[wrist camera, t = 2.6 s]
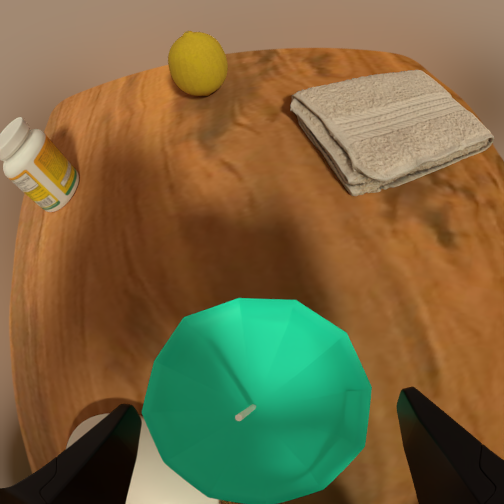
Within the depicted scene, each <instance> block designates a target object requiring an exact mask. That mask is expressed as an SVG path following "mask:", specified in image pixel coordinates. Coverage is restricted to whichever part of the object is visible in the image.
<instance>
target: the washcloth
mask: <svg viewBox="0 0 504 504" xmlns="http://www.w3.org/2000/svg"><path fill="white" fill-rule="evenodd" d="M290 108H291V109H290V111H292V112H294V113H295V114H296V115H297V118H298V121H299V125H300V126H301V128H302V130H303V131H304V132H305V133H306V135H307V136H308V138H309V139H310V140H311V142H312V143H313V144H314V145H315V146H316V147H317V148H318V149H319V151H320V152H321V153H322V154H323V156H324V158H325V159H326V161H327V162H328V164H329V165H330V167H331V168H332V170H333V171H334V172H335V174H336V175H337V177H338V178H339V179H340V181H341V182H342V184H343V185H344V187H345V188H346V190H347V191H348V192H349V193H350V195H352V196H358V195H363V194H364V193H366V192H367V193H375V192H380V191H381V189H382V188H383V189H388V188H389V187H396V186H399V185H401V184H404V183H407V182H409V181H412V180H415V179H417V178H420V177H422V176H424V175H427V174H429V173H431V172H434V171H437V170H439V169H441V168H444V167H446V166H449V165H451V164H453V163H456V162H458V161H460V160H462V159H464V158H467V157H469V156H473V155H475V154H478V153H481V152H483V151H485V150H486V149H488V148H489V147H490V145H491V144H492V143H493V141H494V136H493V135H492V134H491V132H490V131H489V130H488V129H487V128H486V127H485V126H484V125H483V124H482V123H481V122H480V121H479V120H478V118H476V117H475V116H474V115H473V114H472V113H470V112H469V111H467V110H466V109H465V108H464V107H462V106H461V105H460V104H459V103H458V102H457V101H456V100H454V99H453V98H452V97H451V95H450V94H449V93H448V92H447V91H446V90H445V89H444V88H443V87H442V86H441V85H440V84H438V83H437V82H436V81H434V79H432V78H431V77H430V76H429V75H427V74H426V73H424V72H423V71H420V70H414V71H412V70H410V71H409V70H408V71H404V72H402V71H401V72H399V73H394V72H393V73H388V74H387V73H386V74H379V75H377V74H376V75H369V76H367V77H359V78H356V79H355V78H352V79H351V80H346V81H343V82H337V83H333V84H329V85H323V86H318V87H313V88H308V89H307V90H302V91H298V92H297V93H296V94H294V95H292V102H291V105H290Z"/></svg>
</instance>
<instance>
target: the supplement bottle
mask: <svg viewBox="0 0 504 504" xmlns="http://www.w3.org/2000/svg"><path fill="white" fill-rule="evenodd" d="M0 160H2V161H4V164H3V170H4V173H5V175H6V176H7V177H8V178H9V179H10V180H11V181H12V182H13V183H14V184H15V185H16V186H17V187H19V188H20V189H21V190H22V191H23V192H24V193H25V194H26V195H27V196H29V197H30V198H31V199H32V200H33V201H34V202H35V203H37V204H38V205H39V206H40V207H41V208H42V209H44V210H45V211H47V212H55V211H57V210H59V209H61V208H62V207H64V206H65V205H66V204H67V203H68V202H69V200H70V199H71V198H72V196H73V195H74V193H75V191H76V188H77V186H78V183H79V175H78V172H77V171H76V169H75V168H74V167H73V166H72V165H71V164H70V163H69V161H68V160H67V159H66V158H65V157H64V156H63V154H62V153H61V152H60V151H59V150H58V149H57V148H56V146H55V145H54V144H53V143H52V142H51V140H50V139H49V138H48V137H47V136H46V134H45V133H44V132H43V131H42V130H39V129H32V130H30V128H29V125H28V123H26V121H24V119H23V118H21V117H19V118H16V119H15V120H13V121H12V122H11V123H10V124H9V125H8V126H7V127H6V128H5V129H4V130H3V131H2V132H1V134H0Z"/></svg>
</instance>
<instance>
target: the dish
mask: <svg viewBox="0 0 504 504" xmlns="http://www.w3.org/2000/svg"><path fill="white" fill-rule="evenodd" d="M108 414H110V413H108ZM108 414H101V415H96V416H93V417H91V418H89V419H87V420H85V421H83V422H82V423H81V424H80V425H79V426H77V428H76V429H75V430H74V431H73V433H72V435H71V436H70V438H69V441H68V443H67V447H66V449H67V448H68V447H69V446H71V445H72V444H73V443H74V442H76V441H77V440H78V439H79V438H81V437H82V436H83V435H84V434H85V433H87V432H88V431H89V430H90V429H92V428H93V427H94V426H95V425H96V424H98V423H99V422H100V421H101V420H102V419H104V418H105V417H106V416H107V415H108ZM139 416H140V415H139ZM140 417H141V420H142V426H141V433H140V439H139V446H138V453H137V459H136V463H135V467H134V471H133V475H132V479H131V483H130V487H129V491H128V495H127V499H126V504H222V503H221V500H218V499H213V498H208V497H207V496H205V495H204V494H203V493H201V492H200V491H199V490H197V489H196V488H195V487H193V486H192V485H191V484H189V483H188V482H187V481H185V480H184V479H183V478H182V477H180V476H179V475H178V474H177V473H175V472H174V471H173V470H172V469H171V468H169V467H168V466H167V465H166V464H165V463H164V462H163V460H162V458H161V456H160V454H159V452H158V450H157V447H156V445H155V443H154V441H153V439H152V436H151V434H150V432H149V429H148V427H147V425H146V422H145V420H144V417H143V416H140Z"/></svg>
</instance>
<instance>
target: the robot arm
mask: <svg viewBox="0 0 504 504" xmlns="http://www.w3.org/2000/svg"><path fill="white" fill-rule="evenodd" d="M397 413H398V419H399V424H400V429H401V435H402V441H403V447H404V451H405V454H406V458H407V461H408V465H409V468H410V472H411V475H412V479H413V483H414V487H415V490H416V494H417V498H418V502H419V504H504V460H503V459H501V458H500V457H498V456H497V455H496V454H495V453H493V452H492V451H491V450H489V449H488V448H487V447H486V446H485V445H483V444H482V443H481V442H480V441H478V440H477V439H476V438H475V437H474V436H472V435H471V434H470V433H469V432H468V431H466V430H465V429H464V428H463V427H462V426H460V425H459V424H458V423H457V422H456V421H454V420H453V419H452V418H451V417H450V416H448V415H447V414H446V413H445V412H444V411H442V410H441V409H440V408H439V407H438V406H436V405H435V404H434V403H433V402H432V401H430V400H429V399H428V398H427V397H426V396H424V395H423V394H422V393H421V392H420V391H418V390H417V389H416V388H415V387H408V388H404V389H402V390H401V392H400V396H399V399H398V402H397ZM141 426H142V420H141V417H140V416H139V414H138V413H137V411H136V409H135V408H134V406H133V405H130V404H121V405H119V406H118V407H117V408H116V409H114V410H113V411H112V412H111V413H110V414H108V415H107V416H106V417H105V418H104V419H102V420H101V421H100V422H99V423H98V424H96V425H95V426H94V427H93V428H92V429H90V430H89V431H88V432H87V433H85V434H84V435H83V436H82V437H81V438H79V439H78V440H77V441H76V442H74V443H73V444H72V445H71V446H69V447H68V448H67V449H66V450H64V451H63V452H62V453H61V454H59V455H58V456H57V457H56V458H54V459H53V460H52V461H50V462H49V463H48V464H46V465H45V466H44V467H42V468H41V469H39V470H38V471H36V472H35V473H33V474H32V475H30V476H28V477H27V478H25V479H23V480H22V481H20V482H19V483H17V484H15V485H13V486H11V487H8V488H0V504H126V499H127V495H128V491H129V487H130V483H131V479H132V475H133V471H134V467H135V463H136V459H137V453H138V446H139V439H140V433H141Z"/></svg>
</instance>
